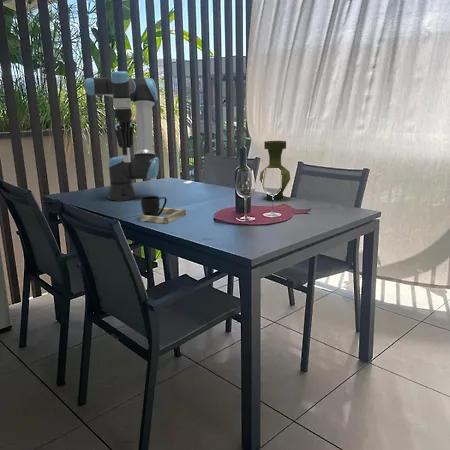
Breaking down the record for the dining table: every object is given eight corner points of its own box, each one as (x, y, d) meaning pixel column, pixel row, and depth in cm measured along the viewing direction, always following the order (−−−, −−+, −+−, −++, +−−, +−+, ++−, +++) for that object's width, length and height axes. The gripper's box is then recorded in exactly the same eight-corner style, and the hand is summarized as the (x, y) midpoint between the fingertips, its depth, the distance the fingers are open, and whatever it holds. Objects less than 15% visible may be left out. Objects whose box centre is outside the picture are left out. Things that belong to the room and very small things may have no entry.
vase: (294, 196, 241) (295, 140, 233) (285, 203, 227) (285, 143, 219) (265, 194, 248) (265, 140, 240) (254, 200, 234) (254, 142, 226)
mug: (170, 217, 203) (169, 197, 201) (145, 221, 198) (144, 200, 195) (164, 214, 210) (162, 194, 208) (139, 217, 205) (138, 197, 202)
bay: (140, 221, 198) (140, 215, 198) (160, 212, 213) (160, 207, 213) (166, 223, 193) (166, 218, 192) (185, 214, 208) (185, 209, 207)
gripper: (120, 109, 190) (125, 164, 196) (138, 107, 201) (142, 160, 208) (106, 109, 192) (111, 163, 199) (124, 108, 204) (128, 159, 211)
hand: (127, 161), depth 203 cm, fingers closed
